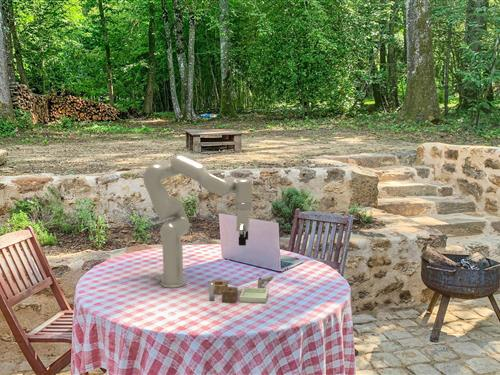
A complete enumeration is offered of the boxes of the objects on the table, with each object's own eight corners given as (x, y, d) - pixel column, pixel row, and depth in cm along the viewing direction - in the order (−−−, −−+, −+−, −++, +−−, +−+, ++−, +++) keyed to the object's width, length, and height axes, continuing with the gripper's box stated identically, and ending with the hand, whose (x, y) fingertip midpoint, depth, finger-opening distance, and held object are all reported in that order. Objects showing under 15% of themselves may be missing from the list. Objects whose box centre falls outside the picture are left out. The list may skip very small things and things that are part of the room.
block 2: (222, 302, 220) (222, 291, 219) (224, 297, 226) (224, 286, 225) (235, 303, 219) (235, 292, 219) (237, 297, 225) (237, 287, 225)
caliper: (259, 291, 234) (259, 278, 233) (257, 291, 234) (257, 278, 233) (273, 277, 253) (274, 265, 252) (271, 277, 253) (271, 265, 252)
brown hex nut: (209, 293, 230) (209, 285, 230) (212, 288, 238) (212, 280, 237) (225, 294, 229) (225, 286, 229) (228, 288, 237) (227, 280, 236)
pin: (208, 301, 222) (208, 284, 220) (210, 299, 224) (209, 282, 223) (214, 301, 222) (213, 284, 220) (215, 299, 224) (215, 282, 223)
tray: (239, 302, 220) (239, 296, 220) (243, 292, 232) (243, 287, 231) (265, 303, 219) (265, 298, 219) (268, 293, 230) (268, 288, 230)
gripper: (237, 201, 233) (237, 237, 236) (232, 209, 216) (232, 247, 219) (253, 202, 233) (253, 237, 235) (249, 210, 216) (249, 248, 218)
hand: (243, 242), depth 227 cm, fingers open, 9 cm apart
